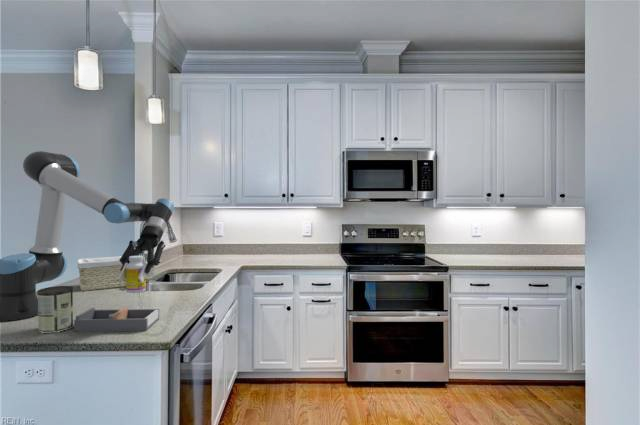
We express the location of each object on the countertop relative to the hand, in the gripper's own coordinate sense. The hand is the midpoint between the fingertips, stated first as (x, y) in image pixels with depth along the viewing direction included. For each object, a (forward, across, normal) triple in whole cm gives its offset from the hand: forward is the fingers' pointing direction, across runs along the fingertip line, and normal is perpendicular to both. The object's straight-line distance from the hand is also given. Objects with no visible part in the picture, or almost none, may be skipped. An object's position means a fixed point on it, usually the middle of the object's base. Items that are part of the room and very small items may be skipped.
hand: (130, 279), depth 139 cm
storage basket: (-31, +51, -55) cm, 81 cm away
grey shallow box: (+11, +5, -13) cm, 18 cm away
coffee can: (+16, +24, -8) cm, 30 cm away
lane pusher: (+10, +6, -12) cm, 17 cm away
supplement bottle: (+1, 0, -6) cm, 6 cm away
